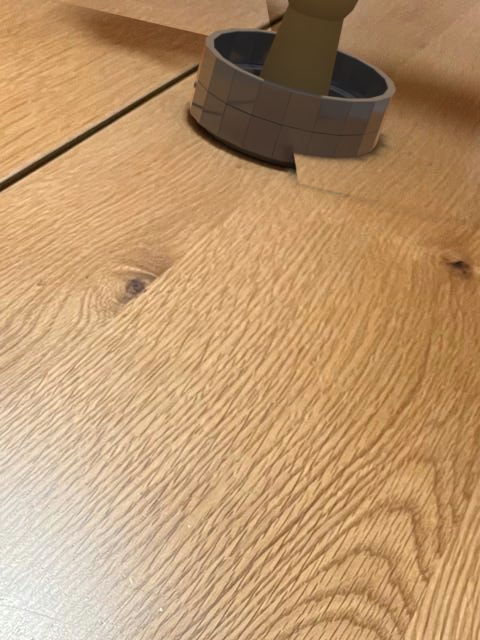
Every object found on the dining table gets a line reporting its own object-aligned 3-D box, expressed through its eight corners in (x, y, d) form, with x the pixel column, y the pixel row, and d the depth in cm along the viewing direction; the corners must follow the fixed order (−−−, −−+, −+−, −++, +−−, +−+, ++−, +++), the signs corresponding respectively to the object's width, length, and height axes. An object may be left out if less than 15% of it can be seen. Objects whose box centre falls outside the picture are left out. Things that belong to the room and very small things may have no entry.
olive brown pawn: (312, 151, 93) (369, -23, 85) (234, 127, 94) (284, -48, 86) (324, 128, 97) (380, -40, 89) (249, 105, 98) (298, -64, 90)
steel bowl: (359, 126, 101) (383, 55, 97) (378, 192, 91) (406, 117, 88) (186, 86, 100) (204, 14, 97) (187, 149, 91) (208, 71, 87)
